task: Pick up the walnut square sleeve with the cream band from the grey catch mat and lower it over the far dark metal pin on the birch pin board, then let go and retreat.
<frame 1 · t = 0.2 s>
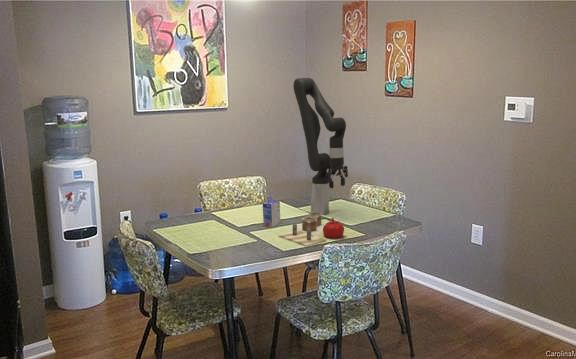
hand: (337, 186, 282), 17 cm above the table, tool pointing down, fingers open, 8 cm apart
sleeve b: (314, 225, 272), resting on catch mat
ink cartridge box: (271, 225, 275), on the table
catch mat: (312, 228, 268), on the table
pomegranate: (333, 237, 254), on the table
sleeve a: (309, 230, 264), resting on catch mat
pin board: (301, 239, 250), on the table
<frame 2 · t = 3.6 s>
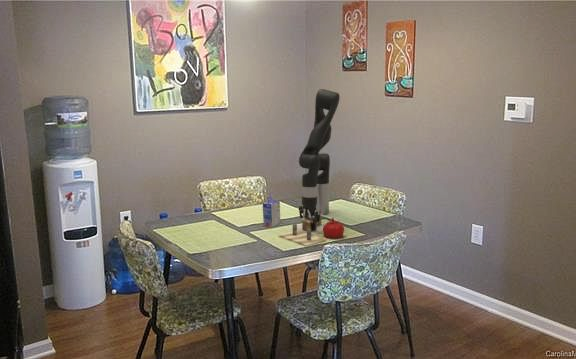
hand: (309, 228, 263), 1 cm above the table, tool pointing down, fingers closed on sleeve a, 5 cm apart
sleeve a: (309, 230, 264), resting on catch mat, touching gripper
everything else where it was.
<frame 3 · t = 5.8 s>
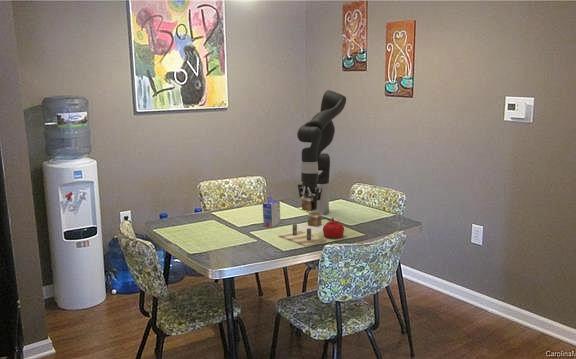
hand: (309, 208, 243), 16 cm above the table, tool pointing down, fingers closed on sleeve a, 5 cm apart
sleeve a: (309, 209, 243), point 15 cm above the table, touching gripper
everything else where it was.
when the fingers open (4 cm above the table, at t = 8.1 s): sleeve a drops 2 cm, resting on pin board.
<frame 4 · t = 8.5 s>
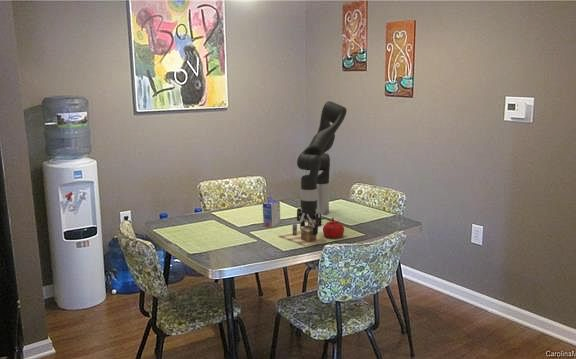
hand: (308, 232, 246), 4 cm above the table, tool pointing down, fingers open, 8 cm apart
sleeve a: (308, 239, 246), point 1 cm above the table, touching pin board
everything else where it was.
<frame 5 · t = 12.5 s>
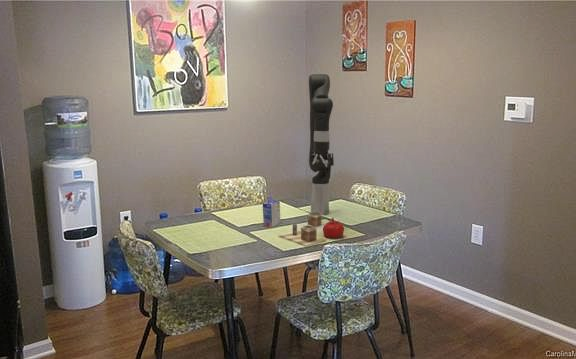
hand: (321, 173, 262), 28 cm above the table, tool pointing down, fingers open, 8 cm apart
nothing on the table moved.
at the end: sleeve a 0.1 cm from the target spot, point 1.2 cm above the table; sleeve a tilted 0°; the gripper is holding nothing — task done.
